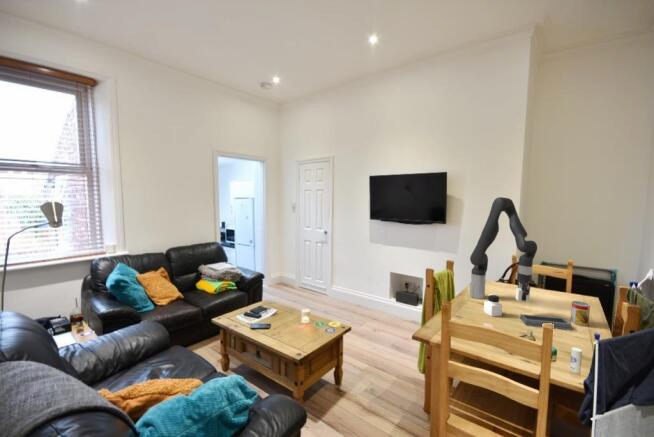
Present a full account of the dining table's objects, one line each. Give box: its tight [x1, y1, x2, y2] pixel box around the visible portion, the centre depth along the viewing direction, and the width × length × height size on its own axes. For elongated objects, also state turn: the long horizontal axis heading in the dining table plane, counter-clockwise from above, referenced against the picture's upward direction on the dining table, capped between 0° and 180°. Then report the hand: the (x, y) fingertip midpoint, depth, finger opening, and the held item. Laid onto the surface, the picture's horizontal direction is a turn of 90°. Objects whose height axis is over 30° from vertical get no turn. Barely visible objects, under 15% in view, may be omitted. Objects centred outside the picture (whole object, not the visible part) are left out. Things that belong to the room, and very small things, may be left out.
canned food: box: [570, 300, 591, 327], centre depth 168 cm, size 8×8×12 cm
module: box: [515, 287, 531, 303], centre depth 181 cm, size 6×4×8 cm, turn 74°
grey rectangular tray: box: [519, 313, 572, 331], centre depth 168 cm, size 22×10×3 cm, turn 75°
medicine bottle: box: [483, 293, 503, 317], centre depth 182 cm, size 7×7×12 cm
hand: (522, 298), depth 181 cm, fingers closed on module, 4 cm apart
